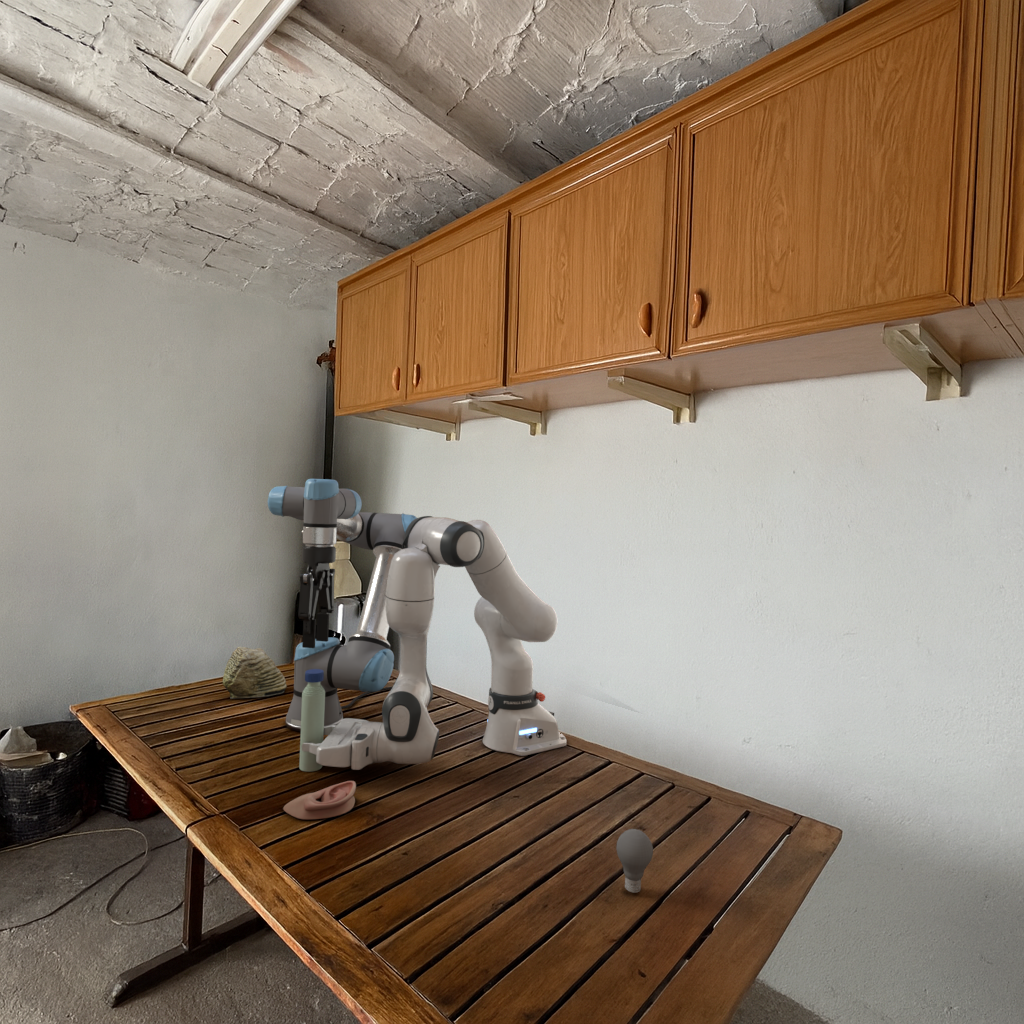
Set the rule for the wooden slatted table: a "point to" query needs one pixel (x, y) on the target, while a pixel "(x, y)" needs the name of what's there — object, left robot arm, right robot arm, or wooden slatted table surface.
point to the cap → (314, 675)
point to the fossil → (252, 674)
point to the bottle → (311, 723)
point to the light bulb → (634, 857)
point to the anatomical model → (323, 802)
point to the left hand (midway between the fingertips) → (315, 643)
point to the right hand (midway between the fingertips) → (309, 738)
